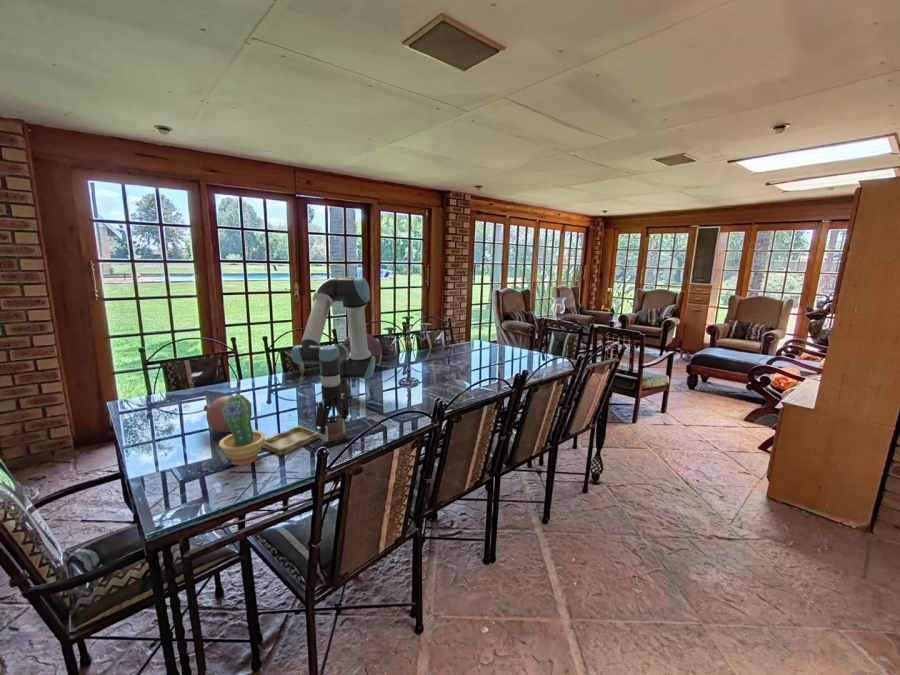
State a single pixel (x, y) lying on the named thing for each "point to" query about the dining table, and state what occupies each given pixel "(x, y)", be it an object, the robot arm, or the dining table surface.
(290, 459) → the dining table surface
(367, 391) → the dining table surface
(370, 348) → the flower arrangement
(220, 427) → the brown rounded piece
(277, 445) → the tray
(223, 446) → the potted cactus
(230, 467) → the dining table surface
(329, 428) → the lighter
